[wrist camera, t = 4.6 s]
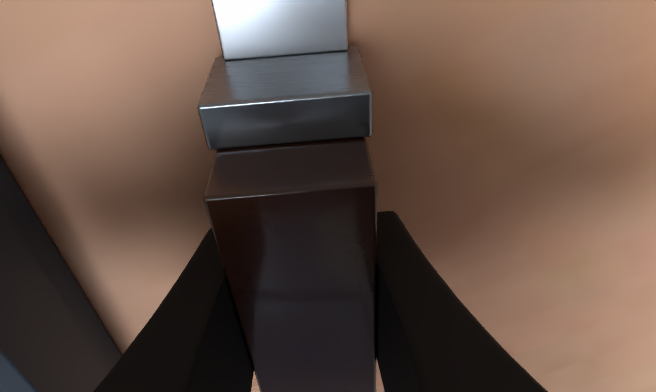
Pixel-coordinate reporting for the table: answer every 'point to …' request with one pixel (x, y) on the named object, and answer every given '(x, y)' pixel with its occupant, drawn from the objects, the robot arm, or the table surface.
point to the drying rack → (43, 309)
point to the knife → (295, 191)
